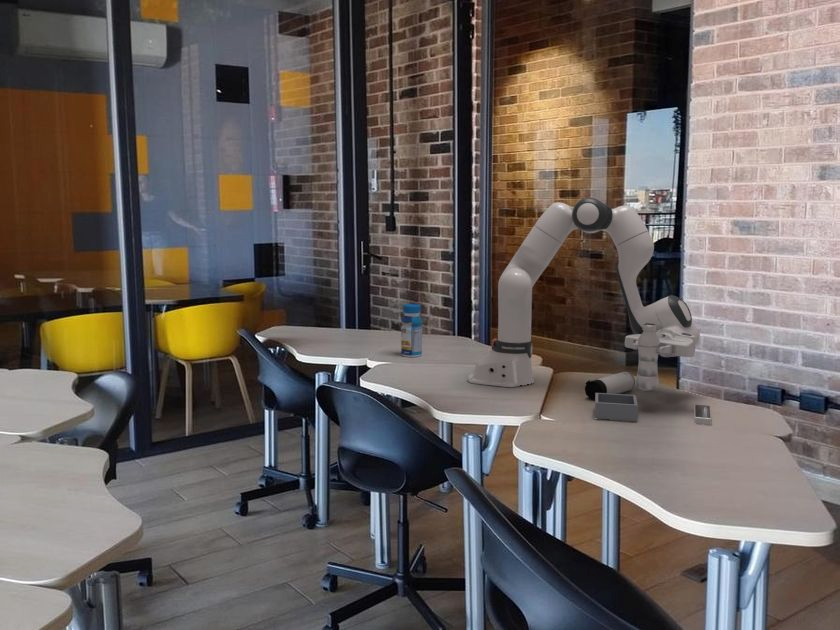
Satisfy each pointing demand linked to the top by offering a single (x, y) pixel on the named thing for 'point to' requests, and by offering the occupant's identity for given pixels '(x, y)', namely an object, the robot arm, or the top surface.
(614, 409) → the gray open square bin
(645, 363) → the plastic bottle
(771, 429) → the top surface
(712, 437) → the top surface
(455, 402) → the top surface
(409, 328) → the beverage bottle
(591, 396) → the travel mug
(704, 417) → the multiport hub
